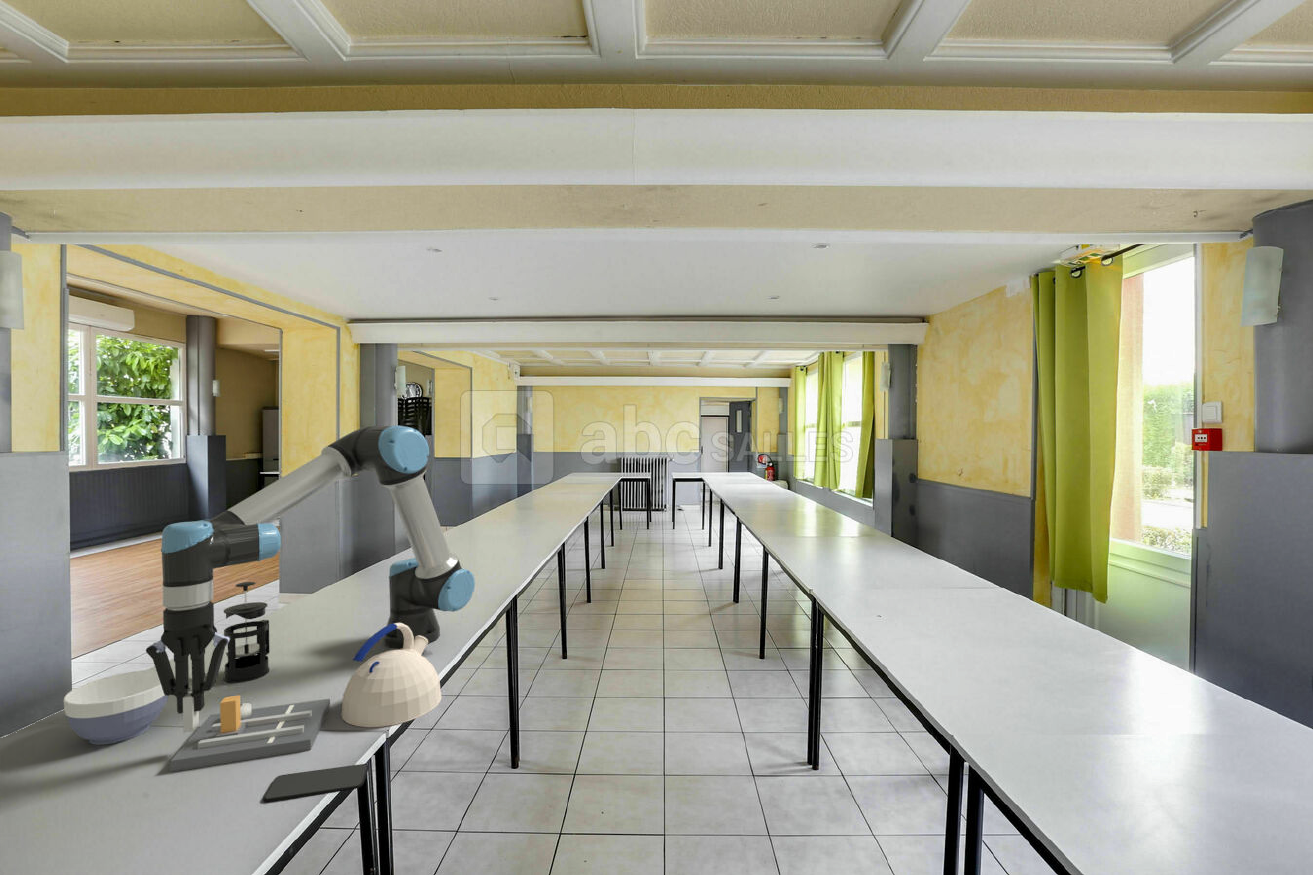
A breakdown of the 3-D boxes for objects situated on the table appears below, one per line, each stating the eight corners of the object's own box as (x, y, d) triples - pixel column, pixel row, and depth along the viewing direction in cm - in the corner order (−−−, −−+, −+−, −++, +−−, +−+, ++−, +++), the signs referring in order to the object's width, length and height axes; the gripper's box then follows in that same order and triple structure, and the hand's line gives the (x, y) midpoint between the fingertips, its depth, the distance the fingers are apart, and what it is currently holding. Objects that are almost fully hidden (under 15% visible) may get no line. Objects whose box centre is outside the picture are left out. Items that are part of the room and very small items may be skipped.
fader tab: (245, 727, 117) (245, 692, 117) (237, 738, 113) (237, 702, 113) (224, 730, 116) (223, 695, 116) (215, 741, 112) (214, 705, 112)
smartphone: (362, 785, 100) (260, 800, 96) (362, 791, 101) (260, 806, 96) (370, 762, 108) (276, 774, 103) (370, 767, 108) (276, 780, 103)
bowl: (80, 763, 108) (78, 711, 108) (53, 739, 117) (52, 691, 117) (184, 726, 122) (183, 680, 122) (154, 707, 130) (153, 664, 130)
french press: (246, 684, 141) (245, 589, 141) (211, 683, 143) (209, 588, 142) (283, 665, 153) (281, 576, 153) (250, 663, 154) (248, 575, 154)
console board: (330, 707, 130) (329, 688, 130) (310, 749, 113) (310, 727, 112) (210, 724, 123) (210, 704, 123) (170, 771, 106) (170, 748, 105)
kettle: (461, 691, 137) (460, 614, 137) (395, 735, 118) (393, 645, 117) (391, 680, 144) (390, 606, 144) (318, 719, 124) (316, 634, 124)
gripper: (236, 595, 118) (238, 713, 118) (156, 602, 113) (159, 724, 114) (222, 606, 110) (224, 731, 111) (136, 614, 106) (139, 744, 107)
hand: (191, 728), depth 112 cm, fingers closed
